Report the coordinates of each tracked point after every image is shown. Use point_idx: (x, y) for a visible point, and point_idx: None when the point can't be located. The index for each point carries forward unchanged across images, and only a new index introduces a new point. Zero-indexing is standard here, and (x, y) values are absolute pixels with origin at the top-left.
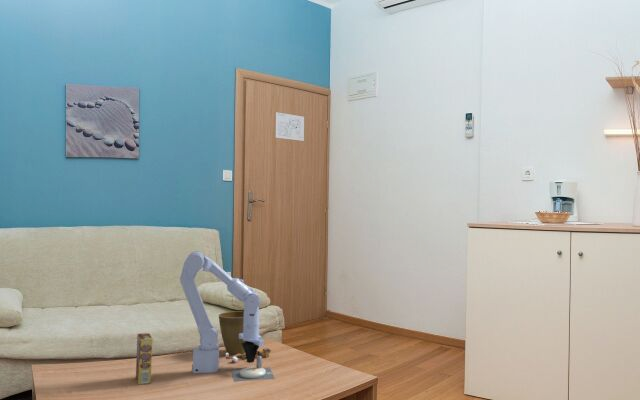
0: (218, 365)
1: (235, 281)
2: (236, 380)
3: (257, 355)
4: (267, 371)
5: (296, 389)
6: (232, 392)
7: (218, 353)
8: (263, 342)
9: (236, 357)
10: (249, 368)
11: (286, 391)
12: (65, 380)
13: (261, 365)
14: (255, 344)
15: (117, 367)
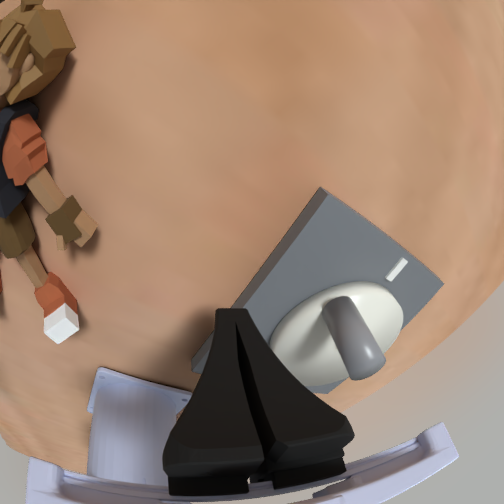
0: (154, 411)
1: None
2: (327, 388)
3: (19, 127)
4: (371, 257)
5: (500, 262)
6: (361, 394)
7: (158, 465)
8: (450, 446)
9: (56, 324)
10: (300, 348)
11: (482, 291)
12: (85, 469)
13: (357, 309)
14: (334, 457)
15: (30, 437)
